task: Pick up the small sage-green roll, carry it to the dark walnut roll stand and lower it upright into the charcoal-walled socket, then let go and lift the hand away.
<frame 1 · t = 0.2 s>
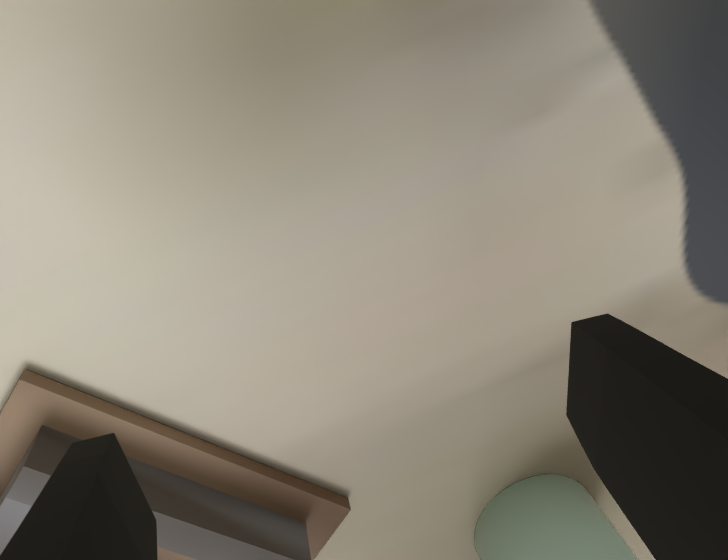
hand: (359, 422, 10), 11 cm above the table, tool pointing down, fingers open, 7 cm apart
roll: (534, 525, 27), on the table
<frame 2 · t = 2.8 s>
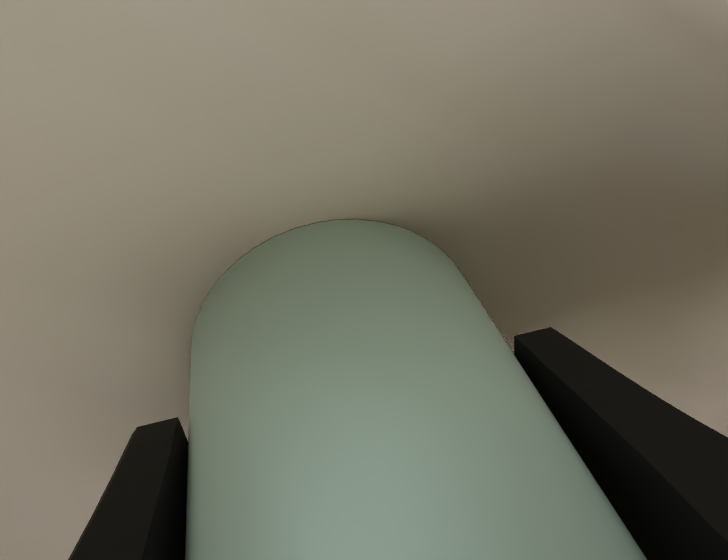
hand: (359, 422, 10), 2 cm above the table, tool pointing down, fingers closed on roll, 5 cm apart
roll: (338, 348, 12), on the table, touching gripper
when the fingers open (3 cm above the table, at t = 7.1 s): roll stays where it is, resting on holder.
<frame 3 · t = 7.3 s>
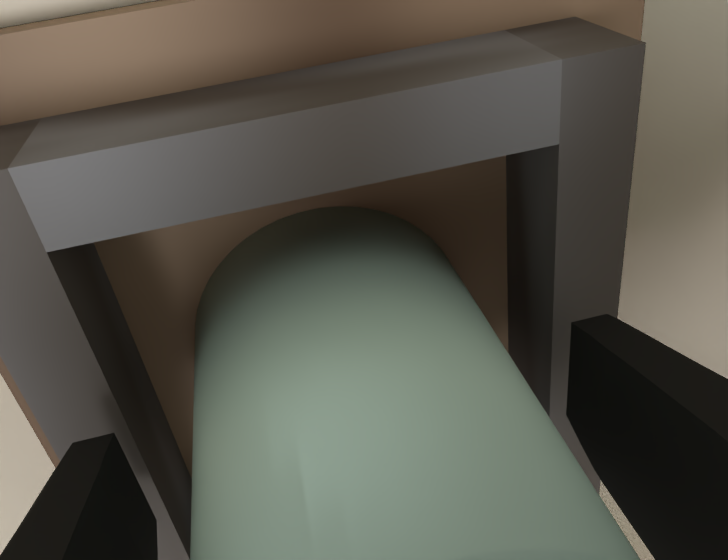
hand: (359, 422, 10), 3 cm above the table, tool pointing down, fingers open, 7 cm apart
roll: (332, 328, 13), point 1 cm above the table, touching holder
holder: (326, 304, 13), on the table
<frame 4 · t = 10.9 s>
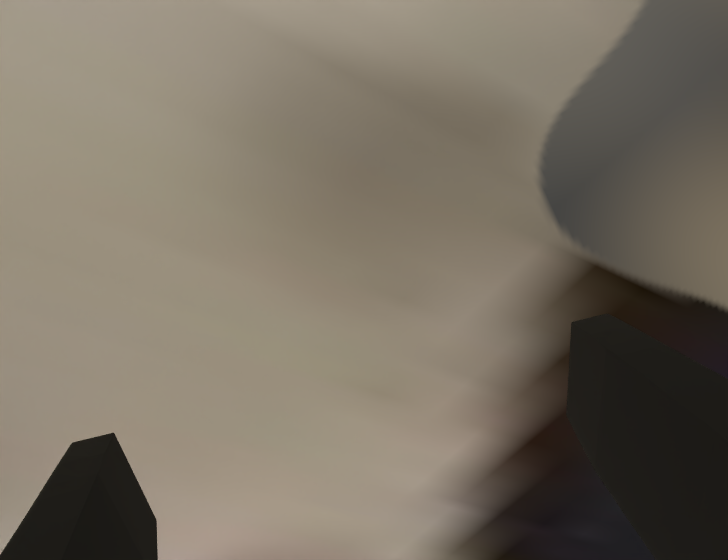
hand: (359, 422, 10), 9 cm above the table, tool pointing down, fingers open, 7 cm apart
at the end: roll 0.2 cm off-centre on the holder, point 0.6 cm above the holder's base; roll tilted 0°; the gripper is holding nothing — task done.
